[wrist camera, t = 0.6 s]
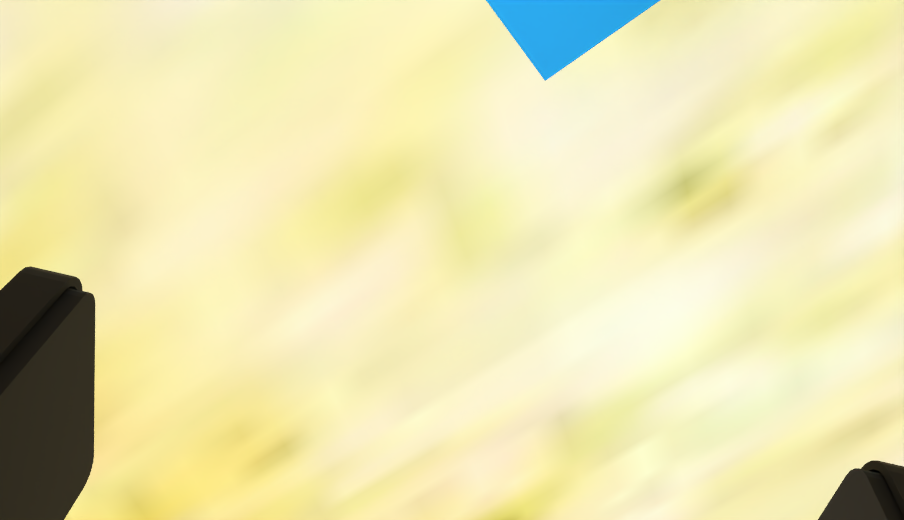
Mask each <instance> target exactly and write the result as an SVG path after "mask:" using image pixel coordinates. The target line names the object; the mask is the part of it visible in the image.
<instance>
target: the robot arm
mask: <svg viewBox="0 0 904 520" xmlns="http://www.w3.org/2000/svg"><path fill="white" fill-rule="evenodd" d="M94 373H95V298H94V296H93V294H91V293H88V292H84V291H82V284H81V282H80V279H78V278H77V277H74V276H69V275H65V274H61V273H56V272H52V271H48V270H43V269H39V268H34V267H25V268H24V269H23V270H21V271H20V272H19V273H18V274H17V275H16V276H15V277H14V278H13V279H12V280H11V281H10V282H8V283H7V284H6V285H5V286H4V287H3V288H2V289H1V290H0V520H64V519H65V517H66V515H67V514H68V512H69V511H70V509H71V507H72V506H73V504H74V503H75V501H76V499H77V498H78V496H79V494H80V493H81V491H82V490H83V488H84V486H85V484H86V482H87V480H88V477H89V475H90V472H91V468H92V464H93V457H94ZM818 520H904V467H903V466H898V465H894V464H890V463H885V462H881V461H870V462H868V463H866V464H865V465H864V466H863V467H862V468H861V469H853V470H851V471H850V472H849V473H848V474H847V475H846V477H845V478H844V480H843V481H842V483H841V484H840V486H839V488H838V489H837V491H836V492H835V494H834V495H833V497H832V499H831V500H830V502H829V503H828V505H827V506H826V508H825V509H824V511H823V513H822V514H821V516H820V517H819V519H818Z"/></svg>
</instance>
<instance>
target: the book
mask: <svg viewBox="0 0 904 520" xmlns="http://www.w3.org/2000/svg"><path fill="white" fill-rule="evenodd" d="M486 1H487V2H488V3H489V5H490V6H491V7H492V9H493V10H494V12H495V13H496V14H497V16H498V17H499V18H500V20H501V21H502V22H503V24H504V25H505V27H506V28H507V29H508V31H509V32H510V33H511V35H512V36H513V37H514V39H515V40H516V42H517V43H518V44H519V46H520V47H521V48H522V50H523V51H524V52H525V54H526V55H527V57H528V58H529V59H530V61H531V62H532V63H533V65H534V66H535V67H536V69H537V70H538V72H539V73H540V74H541V76H542V77H543V78H544V80H547V79H548V78H550V77H551V76H553V75H554V74H555V73H557V72H558V71H560V70H561V69H563V68H564V67H565V66H567V65H568V64H570V63H571V62H573V61H574V60H575V59H577V58H578V57H580V56H581V55H583V54H584V53H585V52H587V51H588V50H590V49H591V48H593V47H594V46H595V45H597V44H598V43H600V42H601V41H603V40H604V39H605V38H607V37H608V36H610V35H611V34H613V33H614V32H615V31H617V30H618V29H620V28H621V27H623V26H624V25H625V24H627V23H628V22H630V21H631V20H633V19H634V18H635V17H637V16H638V15H640V14H641V13H643V12H644V11H645V10H647V9H648V8H650V7H651V6H653V5H654V4H655V3H657V2H658V1H660V0H486Z"/></svg>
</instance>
